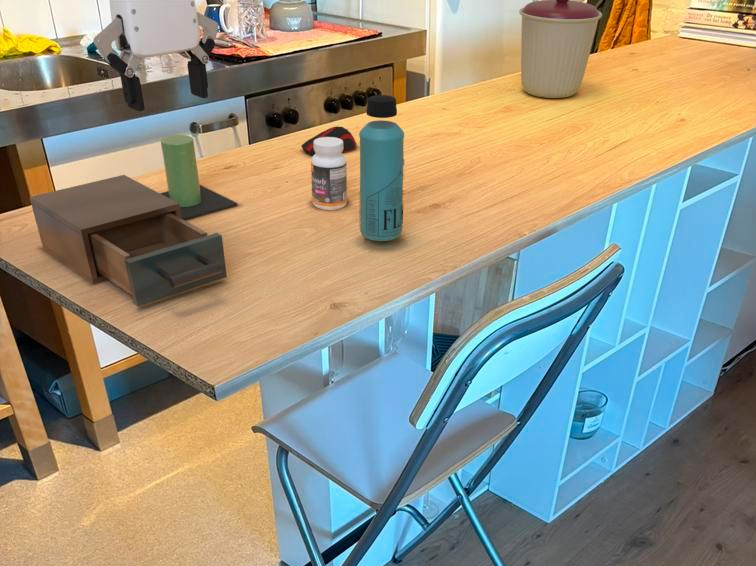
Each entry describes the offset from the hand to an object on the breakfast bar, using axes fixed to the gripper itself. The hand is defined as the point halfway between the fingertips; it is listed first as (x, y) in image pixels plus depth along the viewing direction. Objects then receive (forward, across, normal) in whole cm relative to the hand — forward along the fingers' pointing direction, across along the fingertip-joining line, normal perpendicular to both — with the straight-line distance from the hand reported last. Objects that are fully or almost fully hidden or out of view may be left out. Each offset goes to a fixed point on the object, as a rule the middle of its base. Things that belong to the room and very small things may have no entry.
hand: (168, 102), depth 107 cm
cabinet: (+19, +10, -5) cm, 22 cm away
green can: (+19, -9, -14) cm, 25 cm away
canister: (+20, -112, -20) cm, 115 cm away
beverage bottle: (+20, -22, +18) cm, 35 cm away
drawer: (+18, +10, +9) cm, 23 cm away
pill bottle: (+20, -26, +1) cm, 33 cm away
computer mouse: (+20, -45, -20) cm, 53 cm away
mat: (+19, -9, -14) cm, 26 cm away
